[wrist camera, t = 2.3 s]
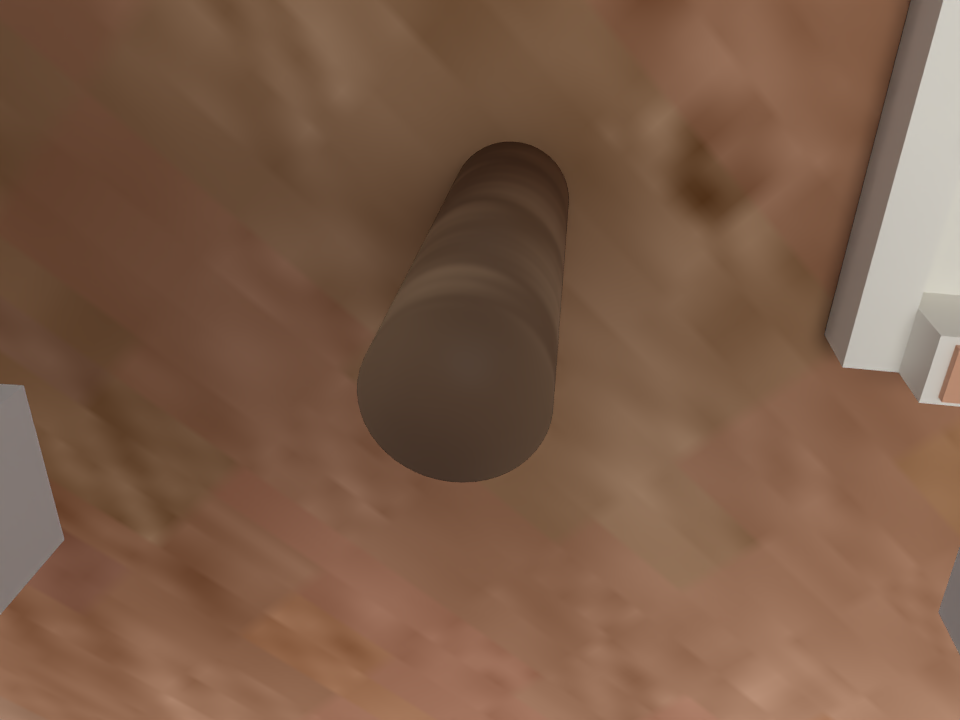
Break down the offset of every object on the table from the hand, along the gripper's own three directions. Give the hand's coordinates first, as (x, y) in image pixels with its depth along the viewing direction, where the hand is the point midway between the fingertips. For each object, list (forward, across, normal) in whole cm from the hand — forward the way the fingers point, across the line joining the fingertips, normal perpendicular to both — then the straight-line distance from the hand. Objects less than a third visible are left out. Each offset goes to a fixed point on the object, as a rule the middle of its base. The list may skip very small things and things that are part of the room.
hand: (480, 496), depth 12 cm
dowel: (+19, -1, -1) cm, 19 cm away
